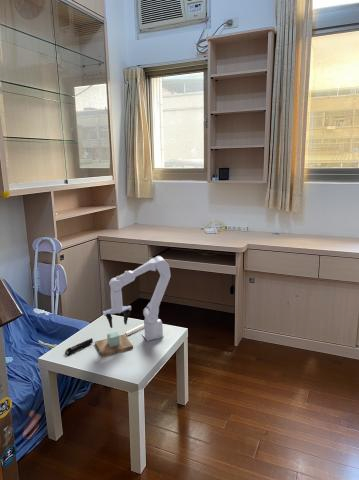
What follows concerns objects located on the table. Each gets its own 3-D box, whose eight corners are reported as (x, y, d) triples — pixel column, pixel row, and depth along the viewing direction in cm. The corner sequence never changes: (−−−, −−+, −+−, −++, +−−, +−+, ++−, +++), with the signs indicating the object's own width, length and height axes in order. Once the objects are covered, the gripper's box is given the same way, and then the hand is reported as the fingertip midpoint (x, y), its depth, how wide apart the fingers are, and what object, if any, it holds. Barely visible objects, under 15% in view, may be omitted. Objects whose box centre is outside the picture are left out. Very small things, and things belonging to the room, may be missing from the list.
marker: (147, 327, 205) (126, 337, 193) (145, 324, 206) (124, 334, 194) (149, 324, 204) (128, 334, 192) (146, 321, 205) (125, 331, 193)
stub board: (124, 336, 192) (123, 330, 191) (133, 348, 180) (132, 341, 179) (95, 344, 185) (94, 337, 184) (102, 356, 173) (101, 349, 172)
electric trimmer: (94, 344, 186) (94, 339, 185) (68, 356, 174) (68, 350, 174) (90, 342, 188) (90, 336, 188) (64, 354, 177) (63, 348, 176)
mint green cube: (116, 340, 185) (116, 331, 184) (119, 344, 181) (119, 335, 180) (107, 342, 183) (106, 334, 182) (110, 347, 179) (109, 338, 177)
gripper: (104, 306, 175) (106, 331, 178) (132, 300, 181) (134, 325, 184) (101, 301, 181) (103, 326, 184) (128, 296, 188) (129, 320, 190)
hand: (118, 325), depth 185 cm, fingers open, 7 cm apart
